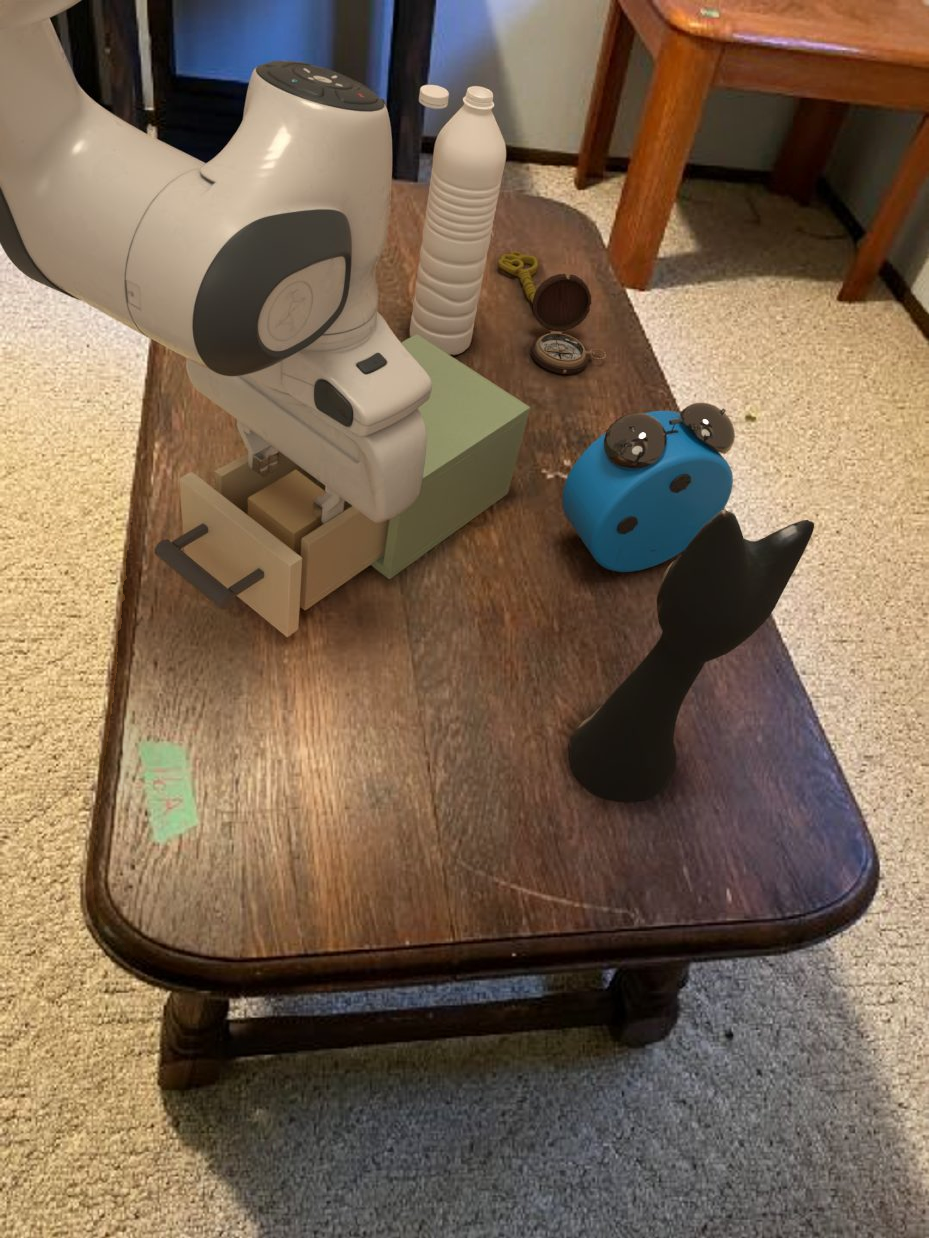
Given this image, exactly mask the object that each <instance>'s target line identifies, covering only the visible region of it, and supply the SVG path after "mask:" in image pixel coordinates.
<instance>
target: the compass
mask: <svg viewBox="0 0 929 1238" xmlns="http://www.w3.org/2000/svg"><path fill="white" fill-rule="evenodd" d="M531 305H532V312H533V314H534V316H535V319H536V321H537V322H538V323H539V324H540V325H541V327H543V328H545V329H546V330H549V333H545V334H542V335H539V336H537V337H536V338H535V339H533V341H532V344H531V347H530V355H531V357H532V358H533V360H534V362H536V363H537V364H538V365H539V366H540V367H542V368H544V370H545V369H546V370H547V371H550V372H553V373H557V374H563V375H566V374H567V375H569V374H570V375H571V374H576V373H579V372H581V371H583V370H584V369H586V367H587V366H588V363H589V359H590V357H591V358H592V359H594V360H599V361H600V360H604V359H606V357H607V353H606V352H605V351H604V350H603V349H600V348H597V347H596V348H591V349H590V350H588V349H587V347H586V346H585V345H584V344H582V342H581V341H579V340H578V339H577V338H576V337H574V336H572V335H569V334H566V333H563V332H566V331H569V330H572V329H574V328H576V327H577V326H579V325H580V324H582V323H583V321H584V320H586V318H587V317H588V315H589V313H590V311H591V308H590V307H591V305H592V295H591V292H590V289H589V287H588V285H587V283H586V282H585V281H584V280H583V279H582V278H580V277H579V276H577V275H575V274H571V273H568V272H567V273H558V274H555V275H552V276H550V277H548V278H546V279H545V280H543V281H542V282H541V283H540V285H538V287H536V292H535V294H534V298H533V303H532V302H531ZM595 351H599V352H601V353H602V354H604V356H603V357H595V354H596V353H595Z"/></svg>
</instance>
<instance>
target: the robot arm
mask: <svg viewBox="0 0 929 1238" xmlns="http://www.w3.org/2000/svg"><path fill="white" fill-rule="evenodd" d="M81 1H82V0H0V246H1V248H2V250H3V251H4V253H5V255H6V256H7V258H8V259H9V260H10V261H11V262H12V264H13V265H14V266H15V267H16V268H17V269H18V270H19V271H20V272H21V273H22V274H24V275H25V276H27V278H30V279H31V280H33V281H35V282H37V283H39V284H41V285H44V286H47V287H48V288H50V289H52V290H54V291H57V292H59V293H62V294H63V295H66V296H68V297H70V298H72V299H76V300H78V301H81V302H83V303H85V304H87V305H89V306H90V307H92V308H94V309H96V310H97V311H99V312H101V313H103V314H105V315H106V316H108V317H110V318H112V319H113V320H115V321H117V322H119V323H121V324H122V325H124V326H126V327H127V328H129V329H132V330H133V331H135V332H137V333H139V334H140V335H142V336H144V337H146V338H148V339H150V340H152V341H154V342H156V343H158V344H160V345H162V346H164V347H165V348H167V349H168V350H170V351H172V352H174V353H176V354H178V355H180V356H182V357H183V358H185V359H186V363H185V364H186V365H185V367H186V373H187V376H188V379H189V380H190V383H191V385H192V386H193V388H194V389H195V390H196V391H197V392H198V393H200V394H201V395H203V396H204V397H205V398H207V399H208V400H209V401H211V402H212V403H213V404H215V405H216V406H218V407H219V408H220V409H222V410H223V411H224V412H225V413H227V414H228V415H230V416H231V417H233V418H234V419H235V420H236V428H237V429H238V432H239V435H240V438H241V440H242V442H243V444H244V446H245V449H246V450H247V453H248V466H249V467H250V468H251V469H252V470H254V471H255V472H257V473H258V474H259V475H261V476H262V477H265V476H267V475H268V473H272V472H274V471H275V470H276V469H277V468H278V460H277V459H278V458H279V452H281V453H282V454H284V455H285V456H286V457H288V458H289V459H290V460H292V461H293V462H294V463H296V464H297V465H298V466H300V467H301V468H302V469H304V470H305V471H306V472H308V473H309V474H310V475H312V476H313V477H314V478H316V479H317V480H318V481H320V482H321V483H322V484H324V485H325V492H326V493H324V496H319V497H318V498H316V499H314V500H313V509H314V510H313V511H312V515H313V516H314V517H316V518H317V519H318V520H319V521H321V522H322V523H323V524H325V523H326V522H328V521H330V520H331V519H333V518H334V517H336V516H337V515H339V514H340V513H342V512H343V509H344V502H345V501H347V502H348V503H349V504H351V505H352V506H353V507H355V508H356V509H357V510H359V511H360V512H361V513H363V514H364V515H365V516H367V517H368V518H369V519H371V520H372V521H374V522H376V523H381V522H384V521H386V520H389V519H391V518H393V517H395V516H397V515H398V514H400V513H402V512H403V511H405V510H406V509H407V508H409V507H410V506H411V505H412V504H413V503H414V502H415V501H416V500H417V498H418V495H419V493H420V489H421V484H422V479H423V472H424V465H425V457H426V445H427V433H426V426H425V422H424V419H423V417H422V415H421V413H420V411H419V410H418V408H419V407H420V406H421V405H423V404H424V403H425V402H426V401H428V399H429V398H430V395H431V390H432V382H431V379H430V377H429V375H428V374H427V372H426V371H425V370H424V369H423V368H422V366H421V365H420V364H419V363H418V362H417V361H416V360H415V359H414V358H413V357H412V355H411V354H410V353H409V352H408V351H407V350H406V348H405V347H404V346H403V345H402V344H401V342H402V341H400V340H399V339H398V337H397V335H395V333H394V332H393V330H392V329H391V327H390V326H389V324H388V323H387V321H386V320H385V318H384V317H383V315H381V314H380V312H379V311H378V306H379V289H378V285H377V280H376V279H377V278H376V271H377V266H378V262H379V260H380V257H381V255H382V254H383V251H384V249H385V245H386V242H387V235H388V227H389V219H390V209H391V207H390V206H391V196H392V179H393V138H392V126H391V121H390V116H389V112H388V108H387V105H386V104H385V102H384V100H382V99H381V98H380V97H379V96H378V94H376V93H375V91H374V90H373V89H371V88H369V87H368V86H367V85H364V84H363V83H361V82H358V81H357V80H355V79H352V78H350V77H349V76H347V75H345V74H342V73H340V72H337V71H334V70H332V69H329V68H327V67H321V66H317V65H313V64H310V63H308V62H303V61H296V60H273V61H270V62H266V63H262V64H259V65H257V66H256V67H254V69H253V70H252V72H251V76H250V79H249V83H248V86H247V91H246V96H245V102H244V107H243V115H242V121H241V123H240V125H239V126H238V128H237V130H236V132H235V133H234V134H233V135H232V137H231V138H230V140H229V141H228V142H227V144H225V146H224V147H223V149H221V151H220V152H219V153H217V154H216V155H215V156H214V157H213V158H212V159H210V160H209V161H208V162H204V161H202V160H200V159H198V158H196V157H194V156H193V155H190V154H189V153H186V152H184V151H183V150H180V149H178V148H176V147H174V146H172V145H171V144H168V143H166V142H164V141H162V140H160V139H158V138H156V137H154V136H152V135H150V134H148V133H146V132H144V131H143V130H141V129H139V128H137V127H135V126H134V125H132V124H131V123H129V122H127V121H126V120H124V119H123V118H121V117H119V116H118V115H116V114H115V113H113V112H112V111H109V110H108V109H106V108H105V107H103V106H102V105H100V104H99V103H98V102H96V101H95V100H94V99H93V98H92V97H90V96H89V95H88V94H87V92H85V90H84V89H83V88H82V87H81V85H80V84H79V82H78V80H77V78H76V77H75V73H74V71H73V69H72V67H71V64H70V62H69V60H68V57H67V55H66V53H65V51H64V48H63V46H62V43H61V41H60V39H59V36H58V35H57V32H56V30H55V28H54V24H53V23H52V21H51V18H53V17H54V16H57V15H59V14H61V13H63V12H65V11H66V10H68V9H70V8H72V7H74V6H75V5H77V4H78V3H79V2H81Z"/></svg>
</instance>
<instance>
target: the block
mask: <svg viewBox="0 0 929 1238" xmlns="http://www.w3.org/2000/svg"><path fill="white" fill-rule="evenodd" d="M324 493H326V492H325V491H324V490H323V489H322V488H320V487H319V486H318V485H316V484H315V483H314V482H312V481H311V480H310V479H308V478H307V477H306V476H304V475H303V474H302V473H300V472H299V471H298V470H294V471H293V472H291V473H289V474H287V475H286V476H284V477H282V478H281V479H279V480H277V481H276V482H274V483H272V484H270V485H269V486H267V487H265V488H264V489H262V490H260V491H258V492H257V493H255V494H253V495H252V496H250V497H248V516H249V517H251V518H252V519H253V520H254V521H256V522H257V523H258V524H260V525H261V526H262V527H263V528H265V529H266V530H267V531H269V532H270V533H271V534H272V535H274V536H275V537H276V538H277V539H279V540H280V541H281V542H283V543H284V544H285V545H286V546H288V547H289V548H290V549H292V550H293V551H294V552H295V553H297V554H298V555H299V556H300V557H301V540H302V538H303V537H305V536H306V535H308V534H309V533H311V532H312V531H314V530H316V529H317V528H319V527H320V526H322V525H323V523H322V522H321V521H319V520H318V519H317V518H316V517H314V516H313V515H312V511H313V510H314V509H313V500H314V499H316V498H318V497H319V496H324Z"/></svg>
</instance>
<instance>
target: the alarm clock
mask: <svg viewBox="0 0 929 1238" xmlns="http://www.w3.org/2000/svg"><path fill="white" fill-rule="evenodd" d="M726 412H727V410H726V409H725V408H722V409H720V407H718V406H716V405H713V404H711V403H707V402H695V403H694V402H693V403H691V404H689V405H687V406H685V407H684V408H683V409H682V410H681V412H678V411H672V410H654V411H648V412H644V413H641V412H633V413H631V412H630V413H628V414H624V415H622V416H620V417H619V418H617V419H616V420H614V421H613V422H612V424H610V425H609V427H608V428H607V430H606V431H605V432H603V433H602V434H601V435H600V436H599V437H597V438H596V439H595V440H594V441H593V442H592V443H590V445H589V446H588V447H587V448H586V449H585V450H584V451H583V452H582V453H581V454H580V456H579V457H578V459H577V460H576V461H575V463H574V464H573V465H572V467H571V469H570V471H569V473H568V474H567V477H566V479H565V482H564V485H563V488H562V495H561V504H562V509H563V512H564V515H565V518H566V519H567V520H568V522H569V523H570V524H571V526H572V528H573V529H574V531H575V532H576V533H577V535H578V537H579V538H578V541H579V542H583V544H584V545H585V547H586V548H587V550H588V551H589V553H590V554H591V556H592V558H593V559H594V560H595V562H597V563H598V565H600V566H601V567H602V568H604V569H606V570H609V571H612V572H617V573H633V572H637V571H638V572H639V571H641V570H642V571H643V570H646V569H649V568H652V567H655V566H658V565H661V564H662V563H664V562H667V561H669V560H671V559H672V558H674V557H677V556H679V554H682V553H683V552H684V550H685V549H686V547H687V546H688V544H689V543H690V542H691V540H692V539H693V538H694V537H695V535H696V534H697V533H698V532H699V531H700V530H701V529H702V527H703V526H704V525H705V524H706V523H707V522H709V521H710V520H711V519H712V518H714V517H715V516H716V515H717V514H718V513H719V512H720V511H721V510H725V508H726V506H727V505H728V502H729V500H730V497H731V495H732V490H733V485H734V484H733V483H734V476H733V471H732V468H731V466H730V464H729V462H728V461H727V460H726V459H725V458H724V456H723V455H725V454H728V453H729V452H730V450H731V449H732V447H733V446H734V443H735V440H736V439H735V438H736V433H735V427H734V425H733V422H732V420H731V419H730V417H729V416H728V415H727V414H726ZM722 454H723V455H722Z"/></svg>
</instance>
